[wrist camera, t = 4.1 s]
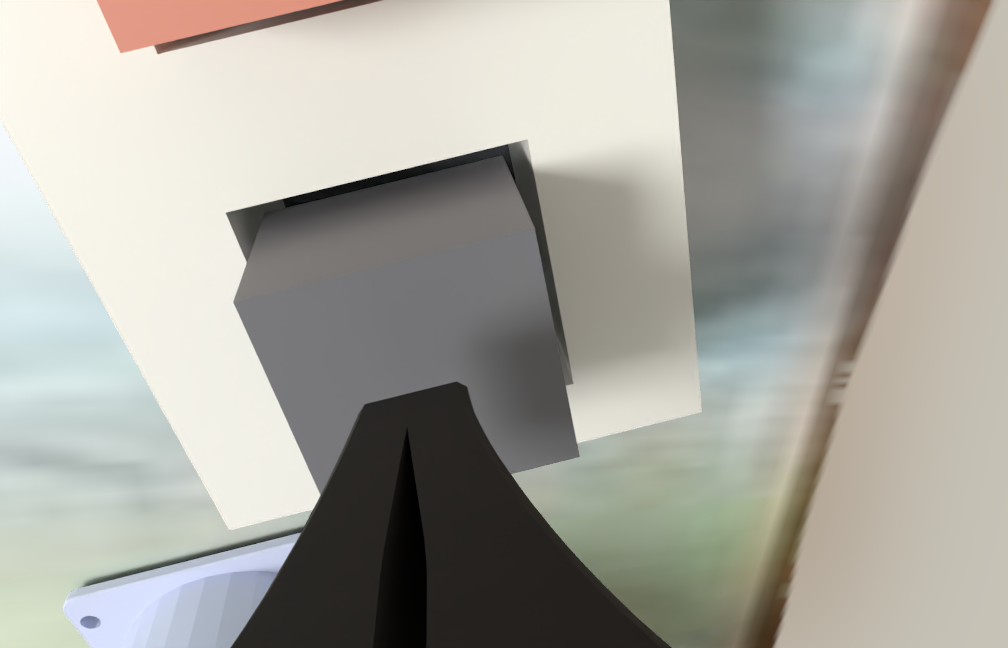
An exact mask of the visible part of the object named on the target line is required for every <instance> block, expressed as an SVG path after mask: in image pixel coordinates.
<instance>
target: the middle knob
mask: <svg viewBox="0 0 1008 648" xmlns="http://www.w3.org/2000/svg"><path fill="white" fill-rule="evenodd" d="M337 1H341V0H97V2H98V5H99V7H100V9H101V11H102V13H103V16H104V18H105V20H106V22H107V24H108V27H109V29H110V31H111V33H112V36H113V38H114V40H115V42H116V44H117V47H118V49H119V51H120V53H124V52H128V51H132V50H137V49H141V48H145V47H149V46H153V45H158V44H162V43H166V42H170V41H174V40H178V39H183V38H187V37H191V36H195V35H199V34H204V33H208V32H212V31H216V30H220V29H224V28H229V27H233V26H237V25H241V24H245V23H250V22H254V21H258V20H262V19H266V18H270V17H275V16H279V15H283V14H287V13H291V12H295V11H300V10H304V9H308V8H312V7H316V6H321V5H325V4H329V3H333V2H337Z"/></svg>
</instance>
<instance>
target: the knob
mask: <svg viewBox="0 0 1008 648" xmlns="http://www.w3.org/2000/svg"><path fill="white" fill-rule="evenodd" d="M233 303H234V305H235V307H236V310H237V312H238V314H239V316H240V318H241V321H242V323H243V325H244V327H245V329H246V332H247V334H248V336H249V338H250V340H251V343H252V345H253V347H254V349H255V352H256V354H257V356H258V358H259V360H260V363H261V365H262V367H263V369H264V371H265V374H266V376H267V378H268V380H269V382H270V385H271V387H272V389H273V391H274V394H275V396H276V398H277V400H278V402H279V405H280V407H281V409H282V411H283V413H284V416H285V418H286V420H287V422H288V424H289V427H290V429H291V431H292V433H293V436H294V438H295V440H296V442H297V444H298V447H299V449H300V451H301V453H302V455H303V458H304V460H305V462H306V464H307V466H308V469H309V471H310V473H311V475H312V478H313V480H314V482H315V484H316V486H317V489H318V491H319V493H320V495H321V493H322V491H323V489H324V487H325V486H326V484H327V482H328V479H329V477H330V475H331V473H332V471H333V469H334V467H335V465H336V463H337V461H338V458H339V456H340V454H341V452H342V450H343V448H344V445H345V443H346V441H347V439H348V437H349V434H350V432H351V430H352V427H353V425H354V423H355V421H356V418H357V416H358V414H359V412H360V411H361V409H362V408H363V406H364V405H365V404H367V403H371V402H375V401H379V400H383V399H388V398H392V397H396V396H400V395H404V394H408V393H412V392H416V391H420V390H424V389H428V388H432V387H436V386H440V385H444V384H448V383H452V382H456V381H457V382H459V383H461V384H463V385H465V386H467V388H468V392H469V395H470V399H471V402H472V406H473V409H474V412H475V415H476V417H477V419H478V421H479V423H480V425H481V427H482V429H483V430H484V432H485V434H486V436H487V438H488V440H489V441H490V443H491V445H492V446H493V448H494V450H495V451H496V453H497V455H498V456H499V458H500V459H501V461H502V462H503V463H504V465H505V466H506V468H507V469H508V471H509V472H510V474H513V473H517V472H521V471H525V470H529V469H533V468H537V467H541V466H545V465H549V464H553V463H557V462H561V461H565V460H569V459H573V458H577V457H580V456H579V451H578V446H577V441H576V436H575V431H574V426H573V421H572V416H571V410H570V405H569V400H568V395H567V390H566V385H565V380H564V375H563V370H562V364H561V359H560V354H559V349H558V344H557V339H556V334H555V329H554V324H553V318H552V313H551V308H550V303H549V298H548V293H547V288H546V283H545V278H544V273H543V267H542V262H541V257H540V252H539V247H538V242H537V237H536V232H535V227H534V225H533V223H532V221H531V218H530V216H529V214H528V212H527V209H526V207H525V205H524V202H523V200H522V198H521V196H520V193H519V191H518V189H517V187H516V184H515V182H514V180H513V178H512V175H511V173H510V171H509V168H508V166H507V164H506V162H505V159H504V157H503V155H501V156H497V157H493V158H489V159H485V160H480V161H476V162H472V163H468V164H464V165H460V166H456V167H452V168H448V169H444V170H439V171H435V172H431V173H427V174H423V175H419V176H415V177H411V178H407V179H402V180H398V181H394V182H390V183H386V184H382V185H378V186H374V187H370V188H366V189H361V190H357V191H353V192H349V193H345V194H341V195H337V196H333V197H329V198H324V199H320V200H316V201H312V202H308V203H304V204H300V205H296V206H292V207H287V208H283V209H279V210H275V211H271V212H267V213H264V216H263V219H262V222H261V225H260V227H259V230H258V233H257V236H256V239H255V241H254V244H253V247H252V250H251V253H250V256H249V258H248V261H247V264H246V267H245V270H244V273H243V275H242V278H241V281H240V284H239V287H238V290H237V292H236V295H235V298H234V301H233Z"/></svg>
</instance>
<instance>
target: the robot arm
mask: <svg viewBox="0 0 1008 648" xmlns="http://www.w3.org/2000/svg"><path fill="white" fill-rule="evenodd" d="M62 609H63V612H64V614H65V615H66V616H67V618H68V619H69V620H70V621H71V623H72V624H73V625H74V627H75V628H76V629H77V630H78V632H79V633H80V634H81V635H82V637H83V638H84V639H85V640H86V642H87V643H88V644H89V646H90V647H91V648H671V647H670V646H669V645H668V644H667V643H665V642H664V641H663V640H662V639H661V638H660V637H658V636H657V635H656V634H655V633H654V632H653V631H652V630H650V629H649V628H648V627H647V626H646V625H645V624H644V623H642V622H641V621H640V620H639V619H638V618H637V617H636V616H635V615H634V614H633V613H632V612H631V611H630V610H629V609H628V608H627V607H625V606H624V605H623V604H622V603H621V602H620V601H619V600H618V599H617V598H616V597H615V596H614V595H613V594H612V593H611V592H610V591H609V590H608V589H607V588H606V587H605V586H604V585H603V584H602V583H601V582H600V581H599V580H598V579H597V578H596V577H595V576H594V575H593V573H592V572H591V571H590V570H589V569H588V568H587V567H586V566H585V565H584V564H583V563H582V562H581V561H580V560H579V559H578V558H577V557H576V555H575V554H574V553H573V552H572V551H571V550H570V549H569V548H568V546H567V545H566V544H565V543H564V542H563V541H562V540H561V538H560V537H559V536H558V535H557V534H556V533H555V531H554V530H553V529H552V528H551V527H550V525H549V524H548V523H547V522H546V520H545V519H544V518H543V517H542V515H541V514H540V513H539V512H538V510H537V509H536V508H535V507H534V505H533V504H532V503H531V502H530V500H529V499H528V498H527V496H526V495H525V494H524V492H523V491H522V490H521V488H520V487H519V486H518V484H517V483H516V481H515V480H514V478H513V477H512V475H511V474H510V472H509V471H508V469H507V468H506V466H505V465H504V463H503V462H502V461H501V459H500V458H499V456H498V455H497V453H496V451H495V450H494V448H493V446H492V445H491V443H490V441H489V440H488V438H487V436H486V434H485V432H484V430H483V429H482V427H481V425H480V423H479V421H478V419H477V417H476V415H475V412H474V409H473V406H472V402H471V399H470V395H469V392H468V388H467V386H465V385H463V384H461V383H459V382H457V381H456V382H452V383H448V384H444V385H440V386H436V387H432V388H428V389H424V390H420V391H416V392H412V393H408V394H404V395H400V396H396V397H392V398H388V399H383V400H379V401H375V402H371V403H367V404H365V405H364V406H363V408H362V409H361V411H360V412H359V414H358V416H357V418H356V421H355V423H354V425H353V427H352V430H351V432H350V434H349V437H348V439H347V441H346V443H345V445H344V448H343V450H342V452H341V454H340V456H339V458H338V461H337V463H336V465H335V467H334V469H333V471H332V473H331V475H330V477H329V479H328V482H327V484H326V486H325V487H324V489H323V491H322V493H321V495H320V497H319V499H318V501H317V503H316V505H315V507H314V509H313V511H312V513H311V515H310V517H309V519H308V521H307V522H306V524H305V526H304V528H303V530H302V532H301V533H297V534H293V535H289V536H285V537H281V538H277V539H273V540H269V541H265V542H261V543H257V544H253V545H249V546H245V547H241V548H237V549H233V550H229V551H225V552H221V553H217V554H213V555H209V556H205V557H201V558H198V559H194V560H190V561H186V562H182V563H178V564H174V565H170V566H166V567H162V568H158V569H154V570H150V571H146V572H142V573H138V574H134V575H130V576H126V577H122V578H118V579H114V580H110V581H106V582H102V583H98V584H94V585H90V586H86V587H82V588H78V589H75V590H73V591H71V592H70V593H69V594H68V595H67V597H66V599H65V601H64V604H63V608H62ZM93 616H94V617H93Z"/></svg>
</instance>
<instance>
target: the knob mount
mask: <svg viewBox="0 0 1008 648" xmlns="http://www.w3.org/2000/svg"><path fill="white" fill-rule="evenodd" d="M0 121H1V122H2V124H3V126H4V128H5V130H6V131H7V133H8V135H9V137H10V139H11V140H12V142H13V144H14V146H15V147H16V149H17V151H18V153H19V155H20V156H21V158H22V160H23V162H24V164H25V165H26V167H27V169H28V171H29V173H30V174H31V176H32V178H33V180H34V181H35V183H36V185H37V187H38V189H39V190H40V192H41V194H42V196H43V198H44V199H45V201H46V203H47V205H48V207H49V208H50V210H51V212H52V214H53V215H54V217H55V219H56V221H57V223H58V224H59V226H60V228H61V230H62V232H63V233H64V235H65V237H66V239H67V240H68V242H69V244H70V246H71V248H72V249H73V251H74V253H75V255H76V257H77V258H78V260H79V262H80V264H81V266H82V267H83V269H84V271H85V273H86V274H87V276H88V278H89V280H90V282H91V283H92V285H93V287H94V289H95V291H96V292H97V294H98V296H99V298H100V300H101V301H102V303H103V305H104V307H105V308H106V310H107V312H108V314H109V316H110V317H111V319H112V321H113V323H114V325H115V326H116V328H117V330H118V332H119V334H120V335H121V337H122V339H123V341H124V342H125V344H126V346H127V348H128V350H129V351H130V353H131V355H132V357H133V359H134V360H135V362H136V364H137V366H138V367H139V369H140V371H141V373H142V375H143V376H144V378H145V380H146V382H147V384H148V385H149V387H150V389H151V391H152V393H153V394H154V396H155V398H156V400H157V401H158V403H159V405H160V407H161V409H162V410H163V412H164V414H165V416H166V418H167V419H168V421H169V423H170V425H171V427H172V428H173V430H174V432H175V434H176V435H177V437H178V439H179V441H180V443H181V444H182V446H183V448H184V450H185V452H186V453H187V455H188V457H189V459H190V461H191V462H192V464H193V466H194V468H195V469H196V471H197V473H198V475H199V477H200V478H201V480H202V482H203V484H204V486H205V487H206V489H207V491H208V493H209V495H210V496H211V498H212V500H213V502H214V503H215V505H216V507H217V509H218V511H219V512H220V514H221V516H222V518H223V520H224V521H225V523H226V525H227V527H228V528H229V530H232V529H236V528H240V527H244V526H248V525H252V524H256V523H260V522H264V521H268V520H272V519H276V518H280V517H284V516H288V515H292V514H296V513H300V512H304V511H308V510H312V509H314V507H315V505H316V503H317V501H318V499H319V497H320V493H319V491H318V489H317V486H316V484H315V482H314V480H313V478H312V475H311V473H310V471H309V469H308V466H307V464H306V462H305V460H304V458H303V455H302V453H301V451H300V449H299V447H298V444H297V442H296V440H295V438H294V436H293V433H292V431H291V429H290V427H289V424H288V422H287V420H286V418H285V416H284V413H283V411H282V409H281V407H280V405H279V402H278V400H277V398H276V396H275V394H274V391H273V389H272V387H271V385H270V382H269V380H268V378H267V376H266V374H265V371H264V369H263V367H262V365H261V363H260V360H259V358H258V356H257V354H256V352H255V349H254V347H253V345H252V343H251V340H250V338H249V336H248V334H247V332H246V329H245V327H244V325H243V323H242V321H241V318H240V316H239V314H238V312H237V310H236V307H235V305H234V303H233V301H234V298H235V295H236V292H237V290H238V287H239V284H240V281H241V278H242V275H243V273H244V270H245V267H246V264H247V261H248V258H249V256H250V253H251V250H252V247H253V244H254V241H255V239H256V236H257V233H258V230H259V227H260V225H261V222H262V219H263V216H264V213H267V212H271V211H275V210H279V209H283V208H286V207H285V205H284V202H283V199H284V198H288V197H292V196H296V195H300V194H305V193H309V192H313V191H317V190H321V189H325V188H329V187H333V186H337V185H342V184H346V183H350V182H354V181H358V180H362V179H366V178H370V177H374V176H379V175H383V174H387V173H391V172H395V171H399V170H403V169H407V168H411V167H416V166H420V165H424V164H428V163H432V162H436V161H440V160H444V159H448V158H453V157H457V156H461V155H465V154H469V153H473V152H477V151H481V150H485V149H490V148H494V147H498V146H502V145H506V144H508V145H509V150H510V155H511V160H512V165H513V170H514V175H515V180H516V185H517V189H518V191H519V193H520V196H521V198H522V200H523V202H524V205H525V207H526V209H527V212H528V214H529V216H530V218H531V221H532V223H533V225H534V227H535V232H536V237H537V242H538V247H539V252H540V257H541V262H542V267H543V273H544V278H545V283H546V288H547V293H548V298H549V303H550V308H551V313H552V318H553V324H554V329H555V334H556V339H557V344H558V349H559V354H560V359H561V364H562V370H563V375H564V380H565V385H566V390H567V395H568V400H569V405H570V410H571V416H572V421H573V426H574V431H575V436H576V441H577V443H580V442H584V441H588V440H592V439H596V438H600V437H604V436H608V435H612V434H616V433H620V432H624V431H628V430H632V429H636V428H640V427H644V426H648V425H652V424H656V423H660V422H664V421H668V420H672V419H676V418H680V417H684V416H688V415H692V414H696V413H700V412H702V409H701V396H700V383H699V371H698V358H697V346H696V333H695V320H694V308H693V295H692V282H691V270H690V257H689V244H688V232H687V219H686V206H685V194H684V181H683V169H682V156H681V143H680V131H679V118H678V105H677V93H676V80H675V67H674V55H673V42H672V29H671V17H670V4H669V0H341V1H337V2H333V3H329V4H325V5H321V6H316V7H312V8H308V9H304V10H300V11H295V12H291V13H287V14H283V15H279V16H275V17H270V18H266V19H262V20H258V21H254V22H250V23H245V24H241V25H237V26H233V27H229V28H224V29H220V30H216V31H212V32H208V33H204V34H199V35H195V36H191V37H187V38H183V39H178V40H174V41H170V42H166V43H162V44H158V45H153V46H149V47H145V48H141V49H137V50H132V51H128V52H124V53H120V51H119V49H118V47H117V44H116V42H115V40H114V38H113V36H112V33H111V31H110V29H109V27H108V24H107V22H106V20H105V18H104V16H103V13H102V11H101V9H100V7H99V5H98V2H97V0H0Z"/></svg>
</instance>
